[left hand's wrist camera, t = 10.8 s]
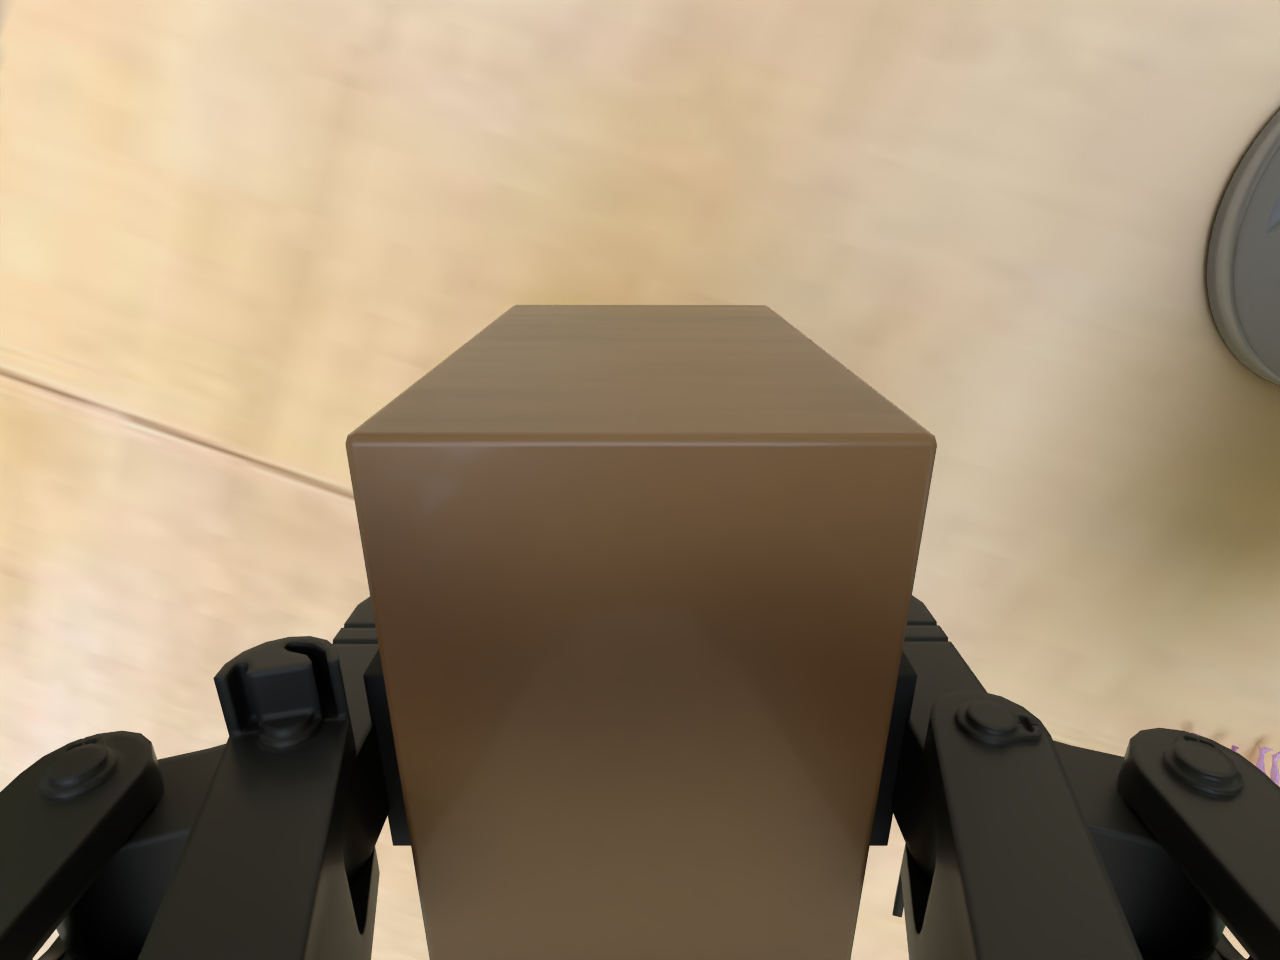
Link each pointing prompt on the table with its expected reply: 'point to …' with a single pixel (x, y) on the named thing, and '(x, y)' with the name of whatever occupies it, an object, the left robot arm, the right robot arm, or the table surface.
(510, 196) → the table surface
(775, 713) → the bar
